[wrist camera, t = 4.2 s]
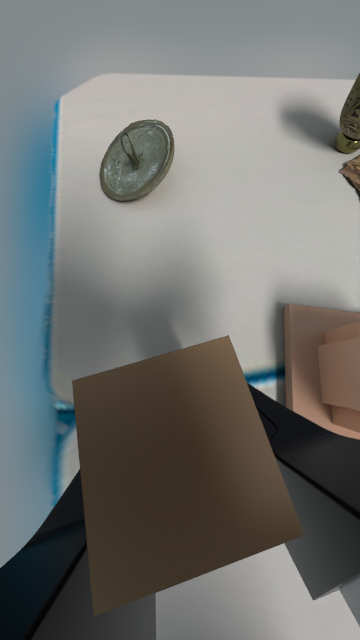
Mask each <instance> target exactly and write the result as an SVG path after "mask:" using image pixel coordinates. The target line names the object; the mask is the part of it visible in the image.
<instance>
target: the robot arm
mask: <svg viewBox="0 0 360 640" xmlns="http://www.w3.org/2000/svg"><path fill="white" fill-rule="evenodd" d="M247 385H248V387H249V390H250V393H251V395H252V398H253V401H254V403H255V406H256V408H257V411H258V414H259V416H260V419H261V422H262V424H263V427H264V430H265V432H266V435H267V437H268V440H269V443H270V445H271V448H272V451H273V453H274V456H275V458H276V461H277V464H278V466H279V469H280V472H281V474H282V477H283V480H284V482H285V485H286V487H287V490H288V493H289V495H290V498H291V501H292V503H293V506H294V509H295V511H296V514H297V516H298V519H299V522H300V524H301V527H302V530H303V532H304V536H301V537H298V538H296V539H293V540H291V541H288V542H286V543H284V544H285V546H286V547H287V549H288V551H289V553H290V555H291V557H292V559H293V561H294V563H295V565H296V567H297V569H298V571H299V573H300V575H301V577H302V579H303V581H304V583H305V585H306V587H307V589H308V591H309V593H310V595H311V597H312V599H313V600H316V599H318V598H321V597H323V596H326V595H328V594H330V593H333V592H335V591H338V590H340V592H341V594H342V596H343V598H344V599H345V601H346V603H347V605H348V607H349V608H350V610H351V612H352V614H353V616H354V618H355V619H356V621H357V623H358V625H359V627H360V439H355V438H350V437H346V436H343V435H339V434H337V433H334V432H332V431H329V430H327V429H325V428H323V427H321V426H319V425H318V424H316V423H314V422H312V421H310V420H308V419H307V418H305V417H303V416H301V415H299V414H297V413H296V412H294V411H292V410H290V409H288V408H287V407H285V406H283V405H281V404H280V403H278V402H276V401H274V400H273V399H271V398H270V397H268V396H267V395H265V394H264V393H262V392H261V391H259V390H258V389H255V387H253V386H252V385H250V384H249V383H247ZM0 640H156V612H155V593H154V594H151V595H148V596H146V597H143V598H141V599H138V600H135V601H133V602H130V603H128V604H125V605H122V606H120V607H117V608H115V609H112V610H109V611H107V612H104V613H102V614H99V615H97V616H94V614H93V603H92V592H91V581H90V570H89V559H88V548H87V537H86V526H85V515H84V504H83V493H82V482H81V471H80V470H79V471H78V473H77V474H76V476H75V477H74V479H73V480H72V482H71V483H70V485H69V486H68V487H67V489H66V490H65V492H64V493H63V495H62V496H61V498H60V499H59V501H58V502H57V504H56V505H55V506H54V508H53V509H52V511H51V512H50V514H49V515H48V517H47V518H46V520H45V521H44V523H43V524H42V525H41V527H40V528H39V529H38V531H37V532H36V533H35V535H34V536H33V537H32V538H31V539H30V540H29V541H28V543H27V544H26V545H25V546H24V547H23V548H22V549H21V550H20V551H19V552H18V553H17V554H16V555H15V556H14V557H12V558H11V559H10V560H9V561H8V562H7V563H6V564H5V565H4V566H2V567H1V568H0Z"/></svg>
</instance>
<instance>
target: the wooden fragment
mask: <svg viewBox="0 0 360 640" xmlns="http://www.w3.org/2000/svg"><path fill="white" fill-rule="evenodd" d="M340 173H341V174H343V175H344V176H345V177H347V178H349V179H350V181H351V183H352V185H353V184H354V187H355V188H356V189H358V190H359V195H360V156H358V157H356V158H355V159H354V160H352V161H349V162H348V163H347V164H346V165H345V168H344V169H343V170H341V171H340Z"/></svg>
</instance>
